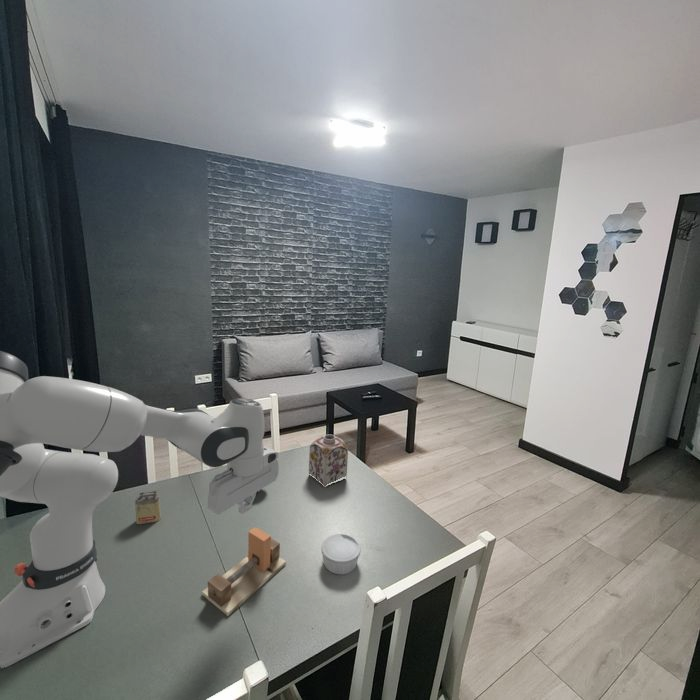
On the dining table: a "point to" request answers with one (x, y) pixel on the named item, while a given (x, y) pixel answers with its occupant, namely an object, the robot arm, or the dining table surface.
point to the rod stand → (241, 581)
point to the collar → (259, 548)
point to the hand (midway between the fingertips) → (245, 510)
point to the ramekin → (340, 553)
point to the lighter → (147, 508)
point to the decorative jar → (328, 459)
